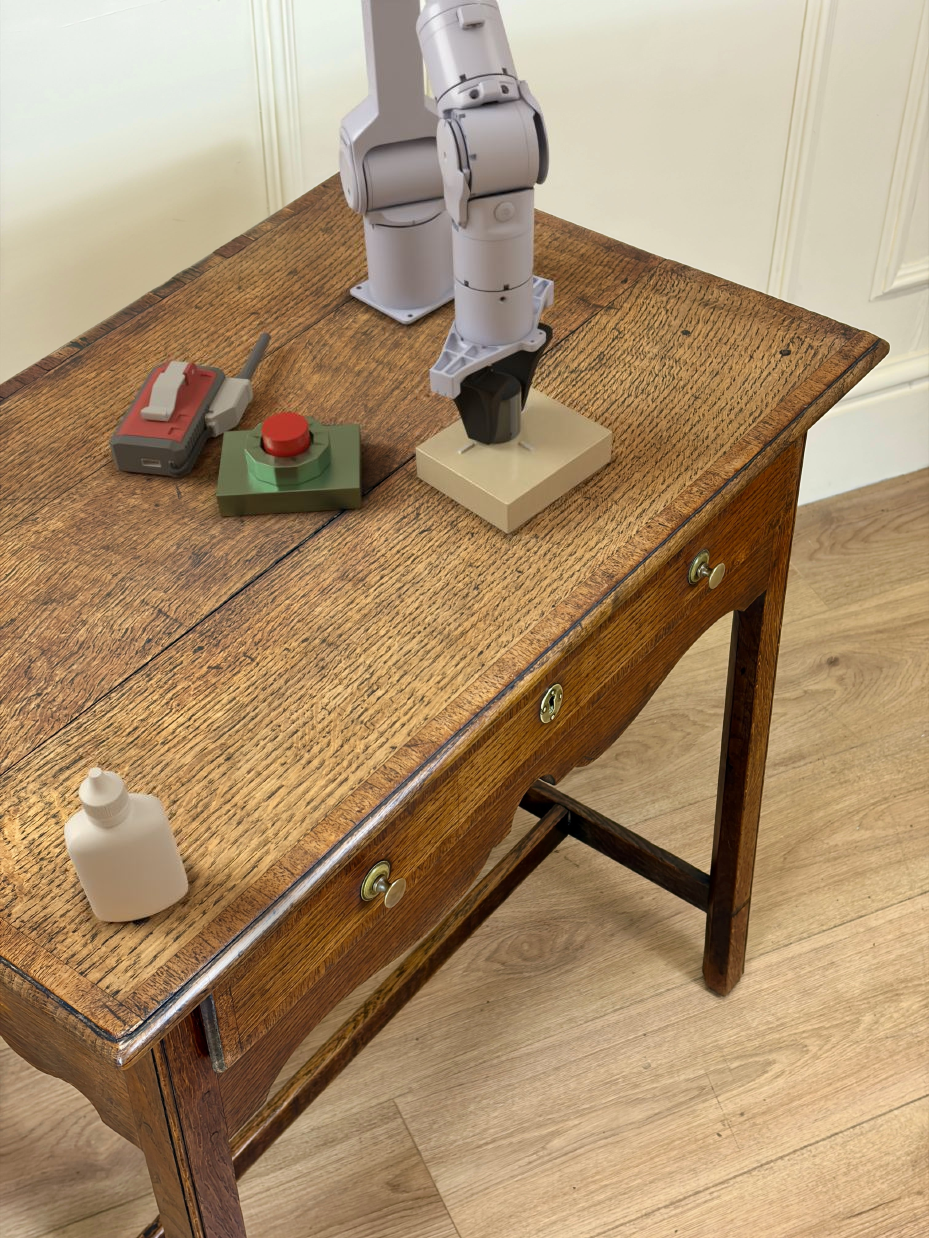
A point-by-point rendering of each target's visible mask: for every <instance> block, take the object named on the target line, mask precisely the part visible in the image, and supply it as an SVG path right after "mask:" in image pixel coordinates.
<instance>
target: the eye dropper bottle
mask: <svg viewBox="0 0 929 1238" xmlns="http://www.w3.org/2000/svg"><path fill="white" fill-rule="evenodd" d="M78 797H79V800H80V803H81V805H82V806H81V807H82V808H81V809H80V810H79V811H77V812H76V813H75V814H74V815H73V816H71V817H70V818H69V819H68V820H67V822H66V823H65V825H64V828H63V834H64V835H63V836H64V842H65V845H66V849H67V854H68V855H69V858H70V861H71V863H72V865H73V868H74V871H75V872H76V875H77V878H78V880H79V882H80V884H81V887H82V890H83V891H84V893H85V895H86V898H87V900H88V903H89V905H90V908H91V910H92V911H93V914H94V915H95V917H96V918H97V920H100V921H102V922H107V923H108V922H109V923H111V922H112V923H122V922H123V923H124V922H130V921H131V922H132V921H136V920H142V919H144V918H148V917H151V916H153V915H156V914H157V913H160V912H162V911H164V910H166V909H168V908H169V907H171V906H173V905H174V904H176V903H177V902H179V901H180V900H181V899H182V898H184V897H185V895H187V893H188V891H189V881H188V876H187V873H186V868H185V865H184V862H183V859H182V857H181V853H180V849H179V847H178V844H177V841H176V837H175V835H174V832H173V828H172V825H171V823H170V821H169V818H168V814H167V812H166V809H165V805H164V804H163V802H162V801H161V799H160V798H159V797H157V796H155V795H152V794H147V793H135V792H128V789H127V787H126V783H125V782H124V778H122V777H121V775H119V774H118V773H117V772H115V771H110V770H102V768H101V767H99V766H95V767H91V768H90V769H89V770H88V773H87V777H86V778H84V780H83V781H82V782H81V784H80V785H79V787H78Z"/></svg>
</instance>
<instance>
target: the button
mask: <svg viewBox="0 0 929 1238" xmlns="http://www.w3.org/2000/svg"><path fill="white" fill-rule="evenodd" d="M303 416H304V415H302V414H299V413H298V412H297V413H296V412H290V411H287V412H286V411H285V412H279V413H275V414H272V415H271V416H269V417H268V418H266V419H265V420H264V421H263V422H264V423H263V424H262V428H261V430H262V436H263V442H264V447H265V450H266V451H267V453H268V454H270V455H272V456H275V457H278V458H281V457H294V456H297V455H299V454H302V453H304V452H305V451H306V450H307V449H308V448H309V446H310V443H311V441H310V434H309V427H308V422H307V420H306V419H305V418H304V417H303Z"/></svg>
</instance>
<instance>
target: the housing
mask: <svg viewBox="0 0 929 1238" xmlns="http://www.w3.org/2000/svg"><path fill="white" fill-rule="evenodd" d="M302 416H303V417H304V418H305V419H306V420H307V422H308V427H309V434H310V441H311V443H310V446H309V448H308V449H307V450H306V451H305V452H304V453H302V454H299V455H297V456H294V457H281V458H278V457H275V456H272V455H270V454H268V453H267V451H266V450H265V447H264V442H263V436H262V430H261V428H262V424H263V423H264V421H260V422H259V423H257V424H256V425H255V426H254V428H252V429H246V430H245V429H243V430H228V431H226V432H224V433H223V435H222V443H221V444H222V445H221V451H220V460H219V462H220V463H219V470H218V478H217V486H216V494H215V496H216V497H215V498H216V502H217V506H218V511H219V516H220V517H237V516H238V517H239V516H254V515H255V516H256V515H257V516H258V515H272V514H289V513H292V514H293V513H306V512H323V511H326V512H327V511H341V510H342V511H343V510H359V509H362V508H363V442H362V431H361V425H360V423H351V424H350V423H349V424H333V425H323V423H321V421H320V420H319V419H315V418H312V417H309V416H305V415H302Z"/></svg>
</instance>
